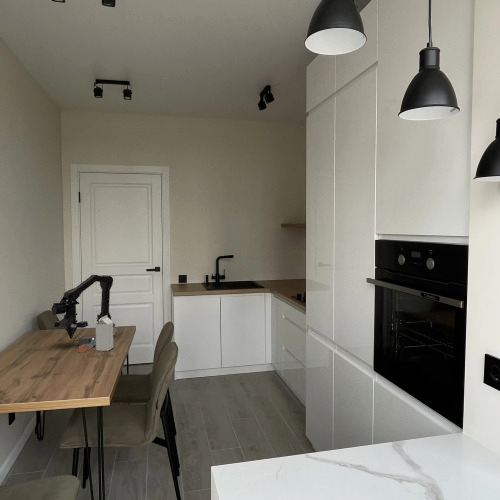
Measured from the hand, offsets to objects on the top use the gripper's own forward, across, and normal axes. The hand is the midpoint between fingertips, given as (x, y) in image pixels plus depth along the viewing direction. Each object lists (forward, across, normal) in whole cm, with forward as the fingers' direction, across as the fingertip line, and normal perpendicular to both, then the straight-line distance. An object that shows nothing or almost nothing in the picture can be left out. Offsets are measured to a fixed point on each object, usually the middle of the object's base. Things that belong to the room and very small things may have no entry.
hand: (71, 338), depth 240 cm
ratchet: (+4, +12, -6) cm, 14 cm away
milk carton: (+4, +24, -6) cm, 25 cm away
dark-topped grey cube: (+4, +10, 0) cm, 10 cm away
